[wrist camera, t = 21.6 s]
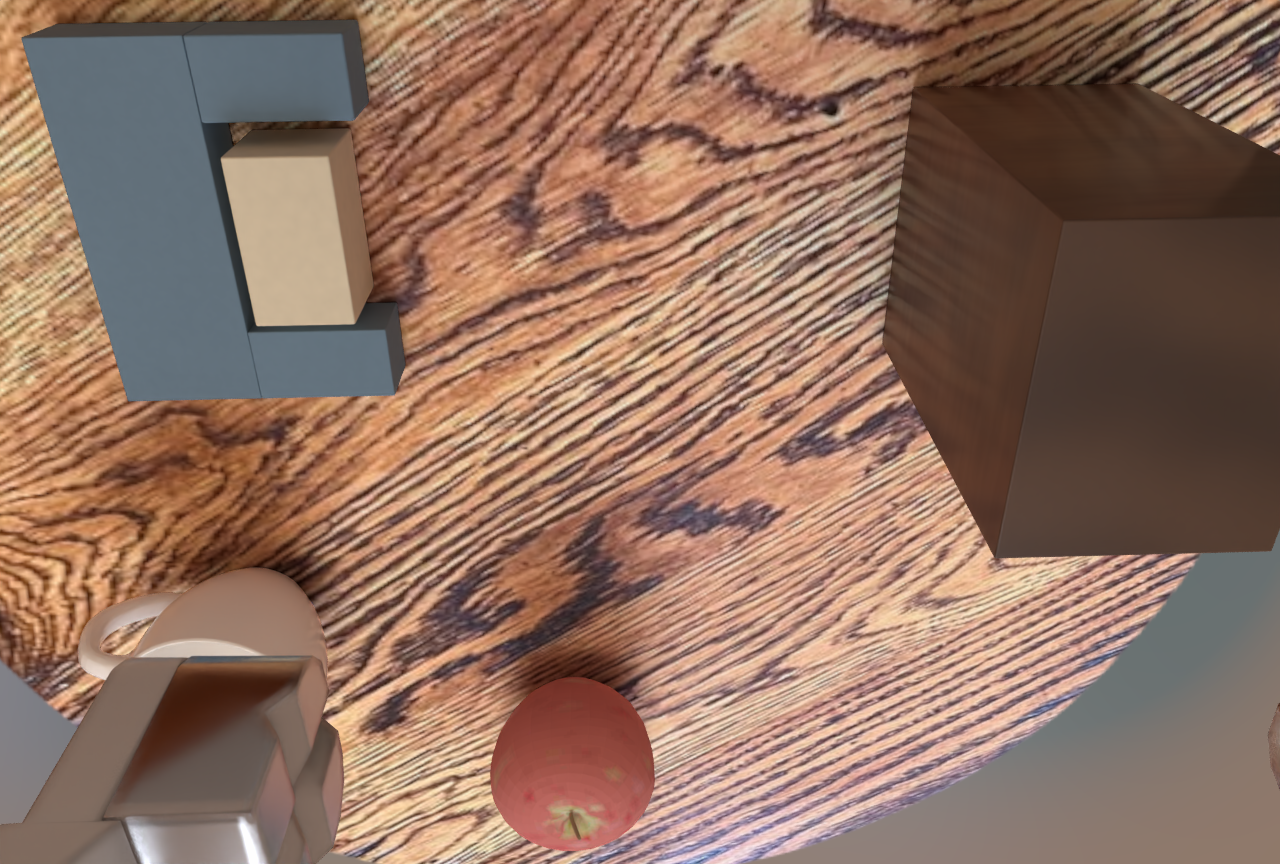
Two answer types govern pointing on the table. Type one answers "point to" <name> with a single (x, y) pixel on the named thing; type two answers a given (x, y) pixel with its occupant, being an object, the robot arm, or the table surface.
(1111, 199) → the block
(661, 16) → the table surface
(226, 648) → the cup
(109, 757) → the robot arm
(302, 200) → the beige block
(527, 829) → the apple
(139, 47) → the u-shaped bracket
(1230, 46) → the table surface
